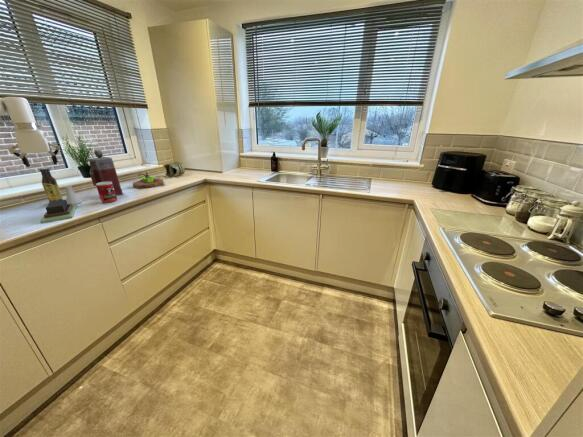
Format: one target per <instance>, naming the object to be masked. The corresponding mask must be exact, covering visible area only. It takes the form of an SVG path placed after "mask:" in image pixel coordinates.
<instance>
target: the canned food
mask: <svg viewBox="0 0 583 437" xmlns="http://www.w3.org/2000/svg"><path fill="white" fill-rule="evenodd" d="M95 188H96V190H97V192H98V195H99V199H100V201H101V202H102V204H110V203H115V202H117V201H118V197H117V196H116V193H115V190H114V187H113V184H112V182H110V181H107V182H100V183H97V184H96V186H95Z"/></svg>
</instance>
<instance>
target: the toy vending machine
mask: <svg viewBox="0 0 583 437" xmlns="http://www.w3.org/2000/svg"><path fill="white" fill-rule="evenodd" d="M94 155H95V157H91V158H88V162H89V167H90V169H89V176H90V179H91V182H92V185H93V186H94V187H96V184H97V183H100V182H107V181H110V182H112V184H113V187H114V190H115V193H116V197H117V196H121V195H124V193H123V190H122V187H121V183H120V181H119V180H120V179H119V176H118V174H117V171H116V167H115V164H114V161H113V158H112V157H111V156H103V151H102V150H100V149H95V150H94Z"/></svg>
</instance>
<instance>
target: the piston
mask: <svg viewBox="0 0 583 437" xmlns="http://www.w3.org/2000/svg"><path fill="white" fill-rule="evenodd" d="M163 168H165V176H166V177H167V178H168V179H173V178H175V177H176V178H177V177H179V176H183V175H184V174H185V172H186V169H185V168H186V167H185V166H184V164H183V163H182V162H180V161H174V162H170V163H166V164H164V166H163Z"/></svg>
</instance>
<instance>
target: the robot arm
mask: <svg viewBox="0 0 583 437" xmlns="http://www.w3.org/2000/svg"><path fill="white" fill-rule="evenodd" d="M2 116H3V117H5V116H9V117H10V120H11V123H12V125H13V127H14V129H15V130H14V131H13V133H14V137H15V140H16V144H15V145H13V146H11V147H9V148H8V151H9V152H10V153H11V154H13V155H14V156H16V157H18V158H19V159H21V161H22V163H23V166H25V167H26V168H29V167H31V163H30V162H29V160H28V157H26V156H27V155H28V154H43V153H44V154H45V153H47V154H49V155H51V156H50V157H51V160H52V162H53V165H57V164H58V163H59V160H58V158H57V155H58V153H59V152H60V149H61V146H60V145H58V144H55V143H51V142H49V140H48V138H47V136H46V134H45V133H44V131H43V130H42V129H41V128H43V125H42V123H41V124H40V123H38V122H37V120H36V118H35V115H34V113H33V111H32V107H31V105H30V103H29V101H28V99H27V98H25V97H21V96H4V97H0V117H2ZM40 129H41V130H40ZM52 148H55V149H54V151H52ZM17 149H19V151H20V152H18V151H16V150H17Z"/></svg>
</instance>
